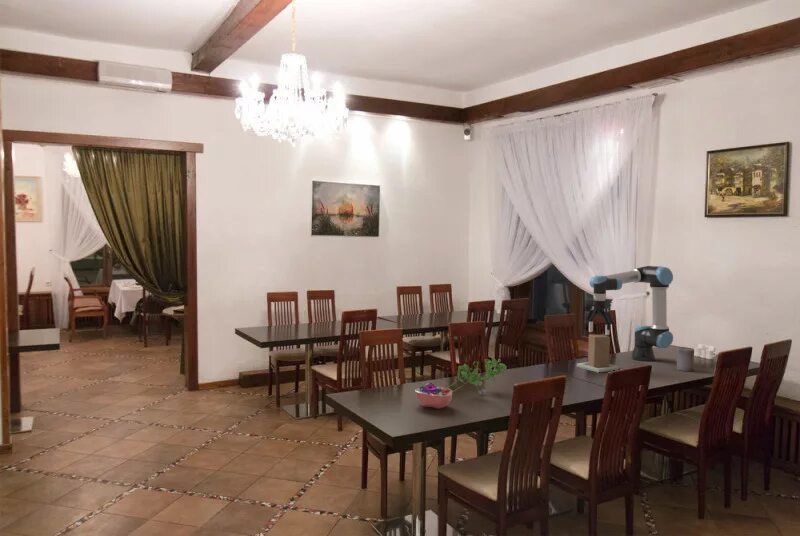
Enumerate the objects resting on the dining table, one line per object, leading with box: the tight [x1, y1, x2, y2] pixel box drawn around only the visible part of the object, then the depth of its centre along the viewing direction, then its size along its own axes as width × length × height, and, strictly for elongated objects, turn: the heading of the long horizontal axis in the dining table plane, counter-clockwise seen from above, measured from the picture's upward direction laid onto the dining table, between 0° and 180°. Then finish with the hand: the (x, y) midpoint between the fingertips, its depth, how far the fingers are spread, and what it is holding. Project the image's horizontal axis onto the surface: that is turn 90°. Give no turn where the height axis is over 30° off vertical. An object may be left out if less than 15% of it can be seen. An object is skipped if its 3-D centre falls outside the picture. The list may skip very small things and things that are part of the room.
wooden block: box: [587, 334, 611, 368], centre depth 373 cm, size 10×10×20 cm
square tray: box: [576, 361, 620, 374], centre depth 373 cm, size 18×18×2 cm
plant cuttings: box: [446, 358, 508, 395], centre depth 310 cm, size 35×17×22 cm
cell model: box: [414, 382, 454, 410], centre depth 283 cm, size 17×20×11 cm
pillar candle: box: [676, 346, 695, 372], centre depth 371 cm, size 10×10×15 cm
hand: (598, 333), depth 372 cm, fingers open, 13 cm apart
